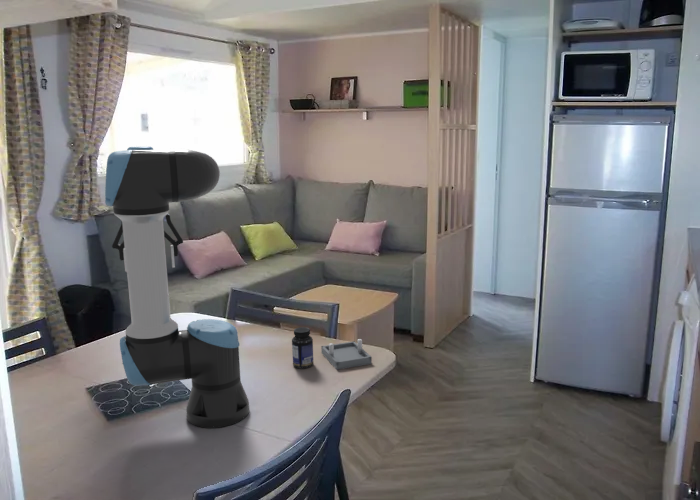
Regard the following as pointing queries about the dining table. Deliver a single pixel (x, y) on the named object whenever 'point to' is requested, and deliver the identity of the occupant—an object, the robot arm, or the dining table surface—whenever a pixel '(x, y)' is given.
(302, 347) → the pill bottle
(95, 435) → the dining table surface
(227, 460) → the dining table surface
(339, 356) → the tray
